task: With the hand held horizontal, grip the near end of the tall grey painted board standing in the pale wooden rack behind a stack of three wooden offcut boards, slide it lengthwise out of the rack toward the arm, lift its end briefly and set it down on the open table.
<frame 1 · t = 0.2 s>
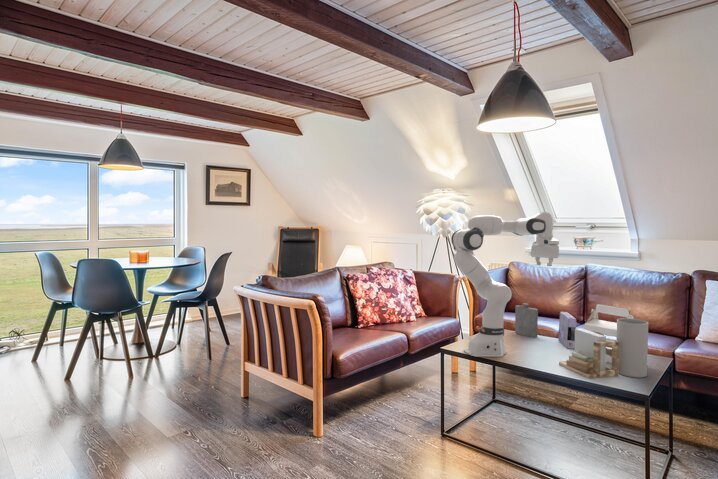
hand: (543, 265, 247), 47 cm above the table, tool pointing down, fingers open, 8 cm apart
cylinder vase: (631, 374, 208), on the table
hip flask: (525, 335, 280), on the table
rack: (584, 369, 214), on the table
tall board: (589, 369, 214), on the table
gable box: (611, 359, 230), on the table
cake pan box: (566, 345, 257), on the table
offcut stack: (581, 372, 210), resting on rack
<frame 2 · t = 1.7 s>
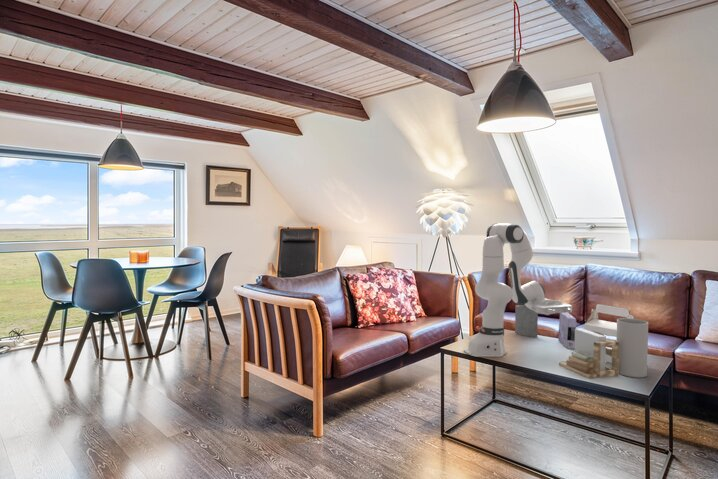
hand: (562, 311, 233), 24 cm above the table, tool horizontal, fingers open, 8 cm apart
nothing on the table moved.
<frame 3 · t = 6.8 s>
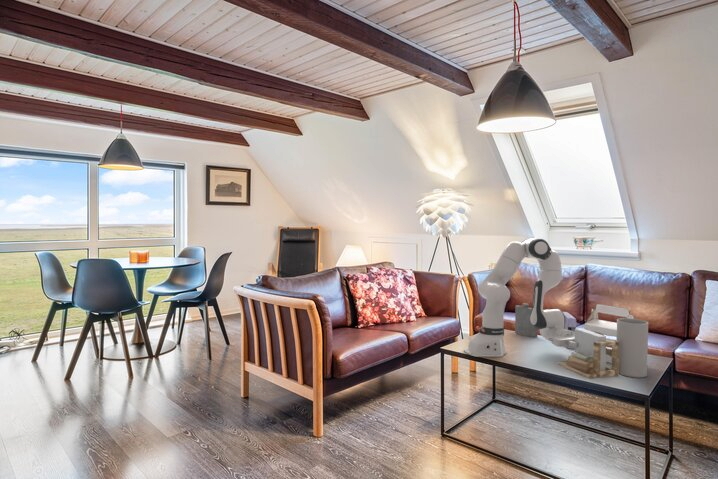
hand: (582, 344, 219), 11 cm above the table, tool horizontal, fingers closed on tall board, 4 cm apart
tall board: (589, 369, 214), on the table, touching gripper
everything else where it was.
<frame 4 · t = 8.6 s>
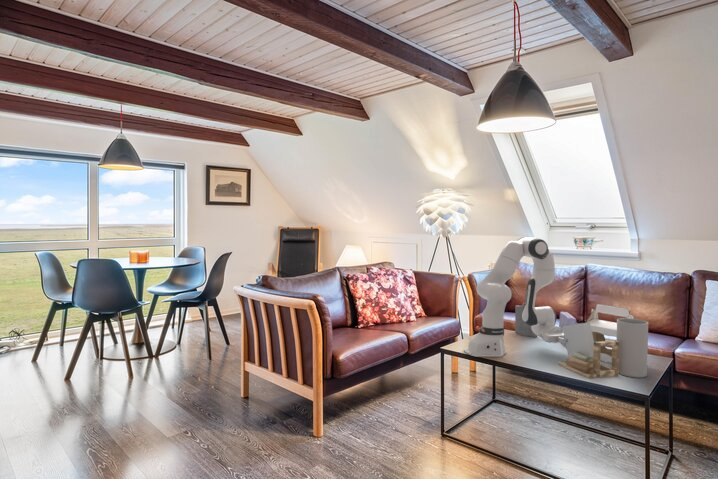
hand: (571, 340, 226), 10 cm above the table, tool horizontal, fingers closed on tall board, 4 cm apart
tall board: (583, 361, 218), point 3 cm above the table, tilted 19°, touching gripper
everything else where it was.
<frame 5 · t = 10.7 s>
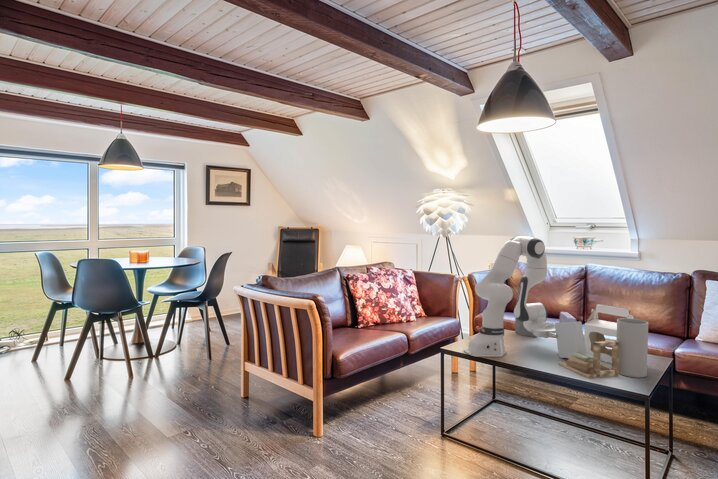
hand: (561, 335, 234), 11 cm above the table, tool horizontal, fingers closed on tall board, 4 cm apart
tall board: (572, 357, 225), point 2 cm above the table, tilted 15°, touching gripper
everything else where it was.
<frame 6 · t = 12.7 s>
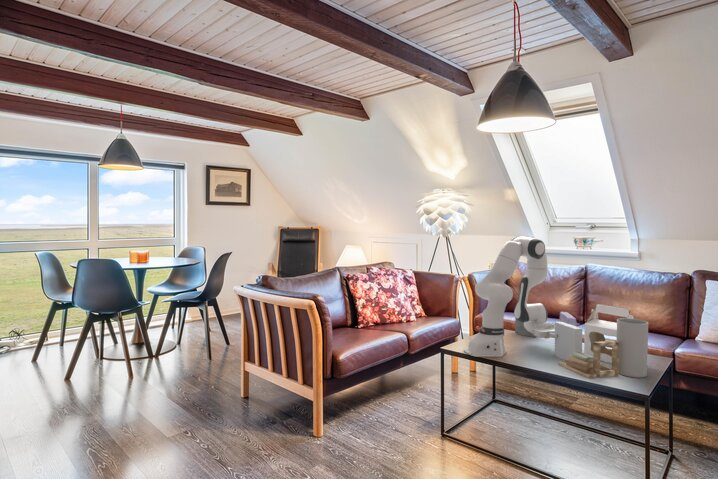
hand: (561, 336, 234), 11 cm above the table, tool horizontal, fingers closed on tall board, 4 cm apart
tall board: (567, 359, 229), on the table, touching gripper
everything else where it was.
when the fingers open (11 cm above the table, at t = 12.8 s): tall board stays where it is, on the table.
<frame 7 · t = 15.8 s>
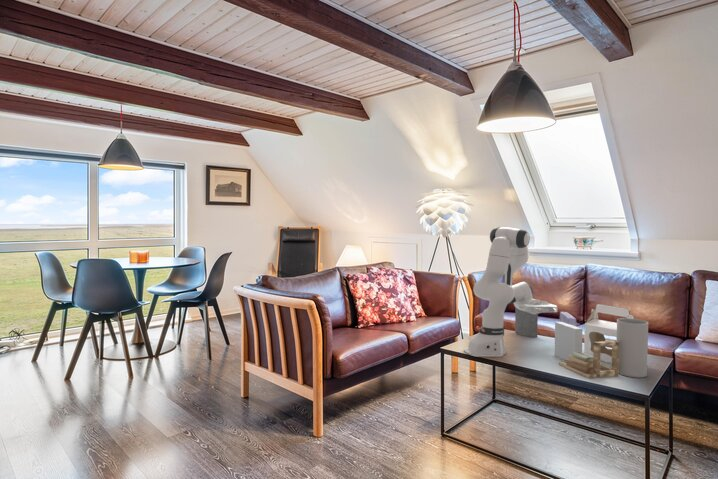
hand: (548, 310, 246), 22 cm above the table, tool horizontal, fingers open, 8 cm apart
tall board: (567, 359, 229), on the table
everything else where it was.
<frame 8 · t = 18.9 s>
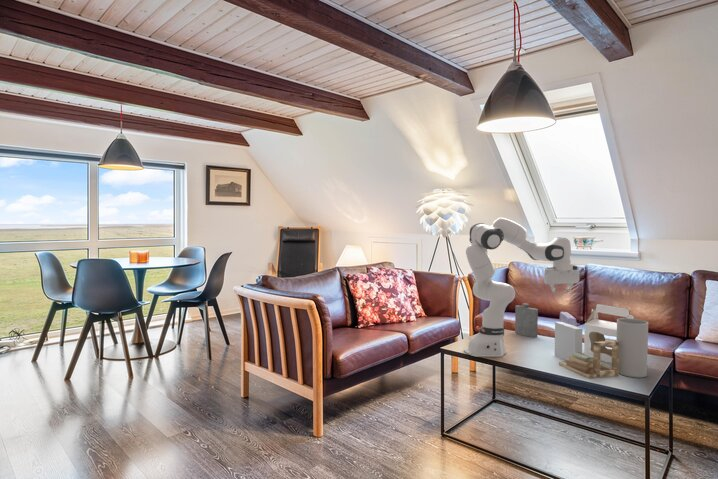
hand: (561, 291, 244), 33 cm above the table, tool pointing down, fingers open, 8 cm apart
nothing on the table moved.
at the end: tall board inside the target area (0.8 cm from its centre), on the table; tall board tilted 0°; the gripper is holding nothing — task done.
